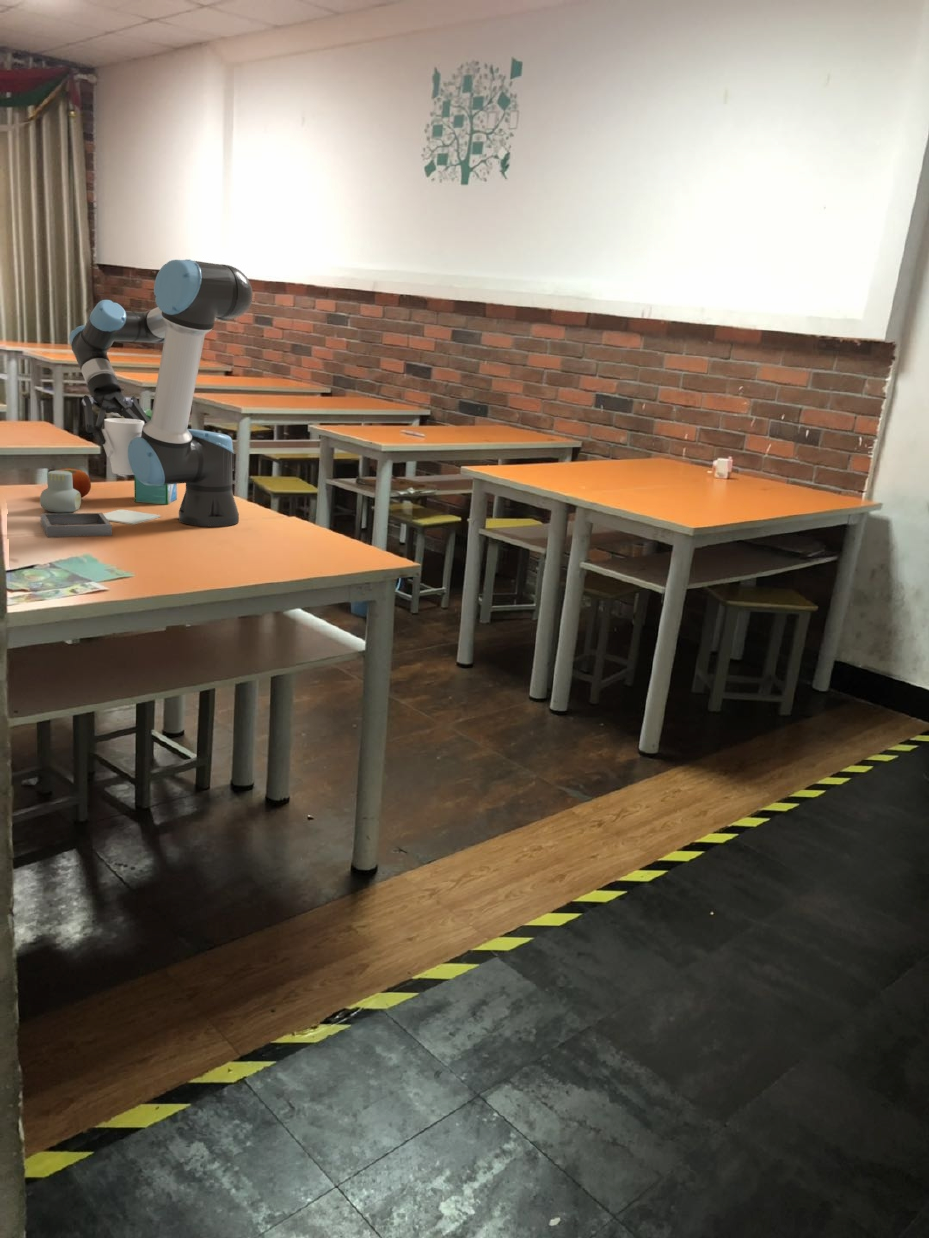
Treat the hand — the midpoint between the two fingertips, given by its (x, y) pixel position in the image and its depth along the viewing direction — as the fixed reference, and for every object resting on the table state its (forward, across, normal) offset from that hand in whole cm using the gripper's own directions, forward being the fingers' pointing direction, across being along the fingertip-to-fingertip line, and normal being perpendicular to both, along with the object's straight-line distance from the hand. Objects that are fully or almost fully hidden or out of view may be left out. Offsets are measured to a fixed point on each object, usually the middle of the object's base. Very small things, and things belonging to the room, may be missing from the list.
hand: (130, 453), depth 238 cm
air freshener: (+1, +12, -23) cm, 26 cm away
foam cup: (+2, 0, -6) cm, 6 cm away
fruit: (-9, +3, -33) cm, 35 cm away
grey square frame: (+16, +16, -8) cm, 24 cm away
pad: (+10, 0, -14) cm, 17 cm away
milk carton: (-2, -17, -27) cm, 32 cm away
